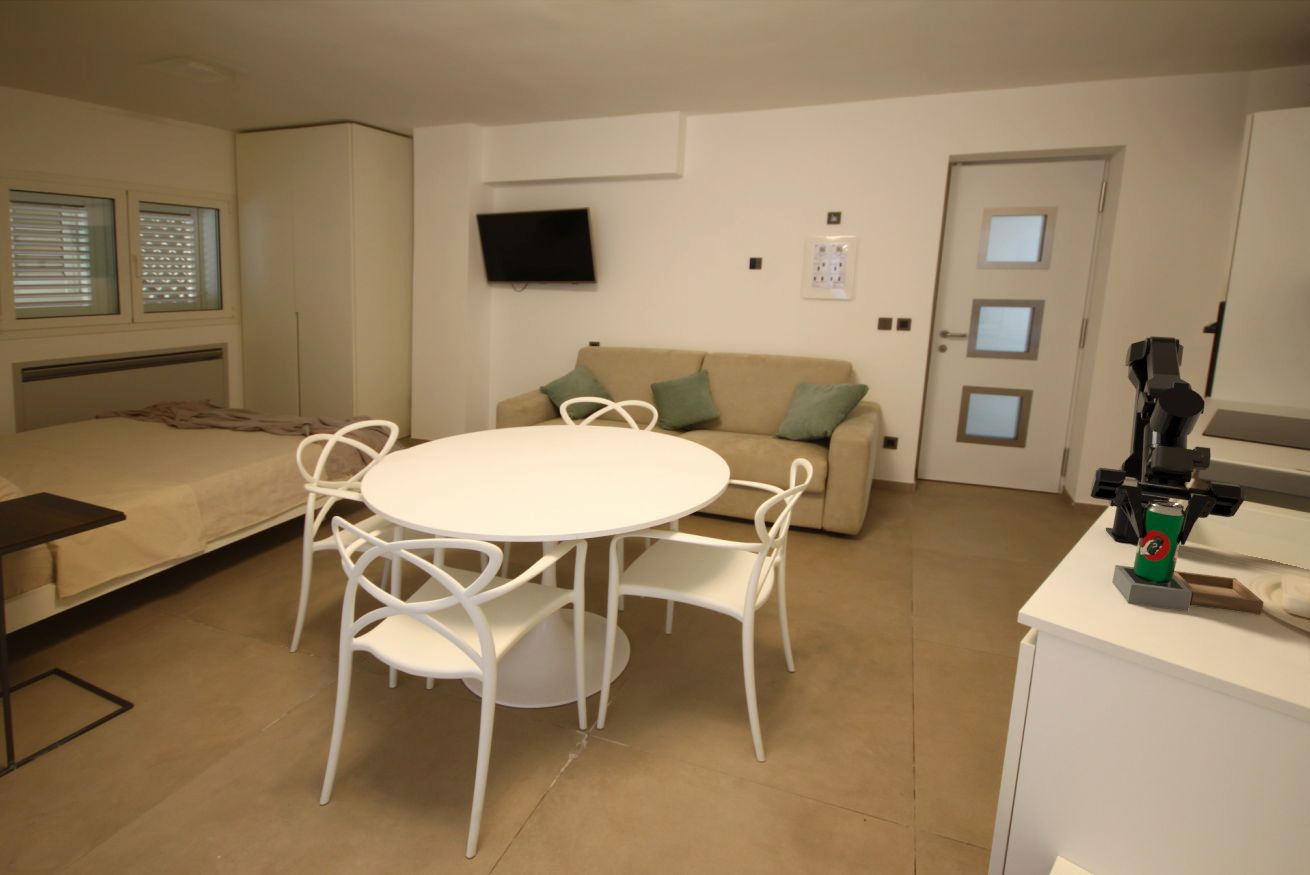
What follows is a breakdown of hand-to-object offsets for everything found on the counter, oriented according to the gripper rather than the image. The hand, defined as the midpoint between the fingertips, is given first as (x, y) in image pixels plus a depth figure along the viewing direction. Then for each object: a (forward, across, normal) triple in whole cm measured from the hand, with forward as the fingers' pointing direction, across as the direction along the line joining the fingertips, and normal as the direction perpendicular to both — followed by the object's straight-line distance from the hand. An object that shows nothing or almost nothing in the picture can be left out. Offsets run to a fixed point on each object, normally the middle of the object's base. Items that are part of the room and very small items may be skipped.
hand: (1161, 540), depth 107 cm
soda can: (+4, 0, +6) cm, 7 cm away
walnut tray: (+3, +9, +11) cm, 14 cm away
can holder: (+6, 0, +8) cm, 10 cm away
